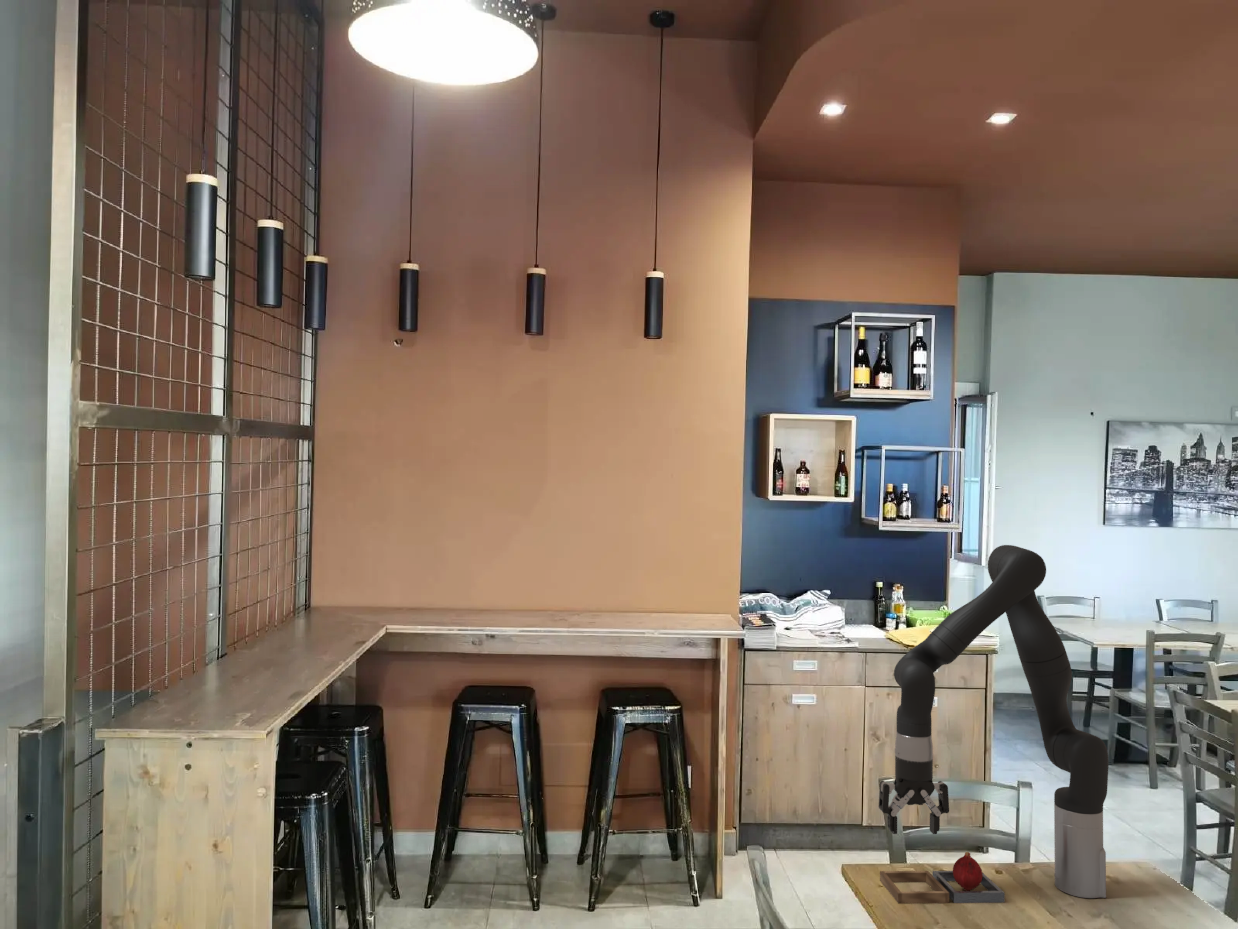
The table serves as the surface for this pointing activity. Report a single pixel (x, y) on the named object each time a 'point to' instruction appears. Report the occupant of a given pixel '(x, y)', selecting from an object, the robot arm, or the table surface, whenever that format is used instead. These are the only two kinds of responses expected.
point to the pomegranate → (967, 872)
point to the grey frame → (988, 896)
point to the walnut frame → (914, 896)
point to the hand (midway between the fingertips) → (913, 833)
